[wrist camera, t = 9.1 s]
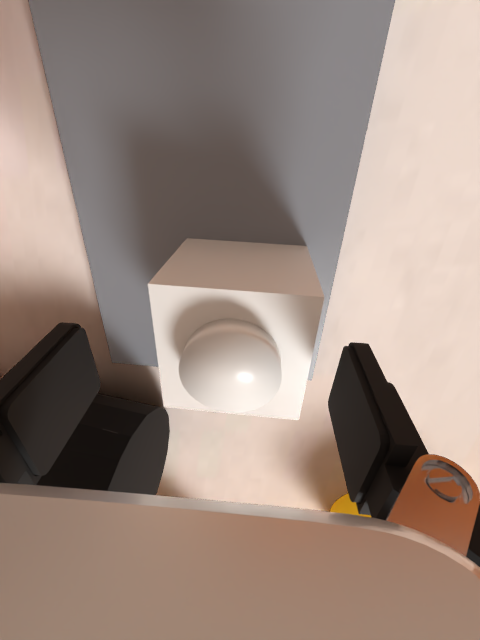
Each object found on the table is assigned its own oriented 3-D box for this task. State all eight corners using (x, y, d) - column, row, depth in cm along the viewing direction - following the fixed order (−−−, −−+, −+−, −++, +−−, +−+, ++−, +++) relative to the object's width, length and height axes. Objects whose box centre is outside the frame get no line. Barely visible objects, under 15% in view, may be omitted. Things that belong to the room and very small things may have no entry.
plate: (34, -52, 12) (11, -71, 11) (396, -47, 11) (409, -67, 10) (119, 352, 22) (112, 362, 21) (309, 369, 21) (311, 380, 20)
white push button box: (186, 238, 16) (137, 295, 10) (306, 246, 16) (329, 310, 10) (191, 336, 19) (156, 423, 13) (291, 344, 19) (300, 438, 13)
